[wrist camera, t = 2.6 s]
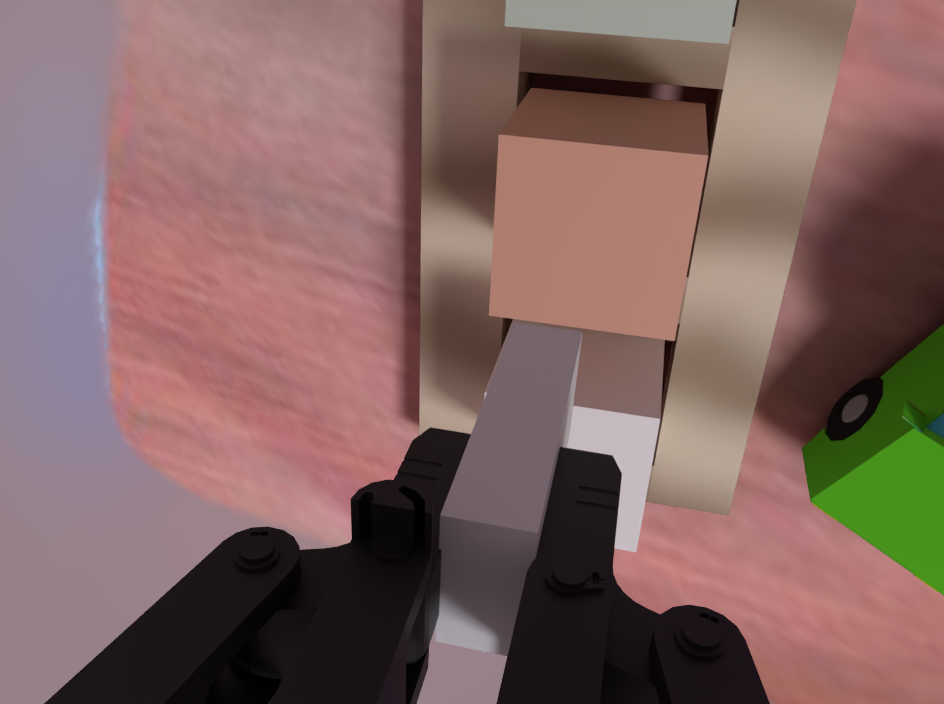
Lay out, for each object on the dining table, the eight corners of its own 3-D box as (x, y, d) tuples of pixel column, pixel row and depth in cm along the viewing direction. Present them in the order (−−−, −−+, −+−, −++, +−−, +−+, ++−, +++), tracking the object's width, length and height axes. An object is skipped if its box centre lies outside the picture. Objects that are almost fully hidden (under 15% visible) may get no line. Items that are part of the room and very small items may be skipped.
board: (446, -312, 27) (422, -329, 25) (915, -306, 25) (939, -324, 22) (432, 432, 42) (416, 468, 39) (726, 480, 39) (728, 521, 37)
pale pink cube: (515, 313, 35) (484, 392, 30) (665, 334, 34) (660, 419, 29) (506, 434, 38) (477, 523, 33) (643, 456, 37) (636, 552, 32)
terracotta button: (531, 87, 30) (498, 134, 25) (705, 103, 29) (708, 155, 24) (520, 245, 33) (488, 315, 28) (677, 264, 32) (674, 341, 27)
